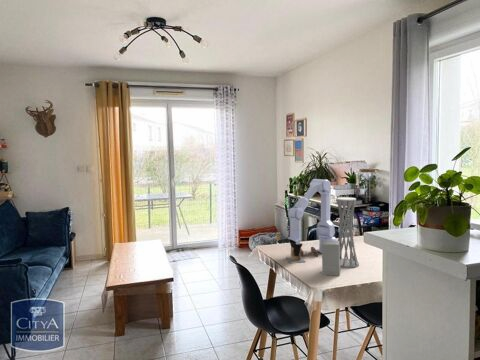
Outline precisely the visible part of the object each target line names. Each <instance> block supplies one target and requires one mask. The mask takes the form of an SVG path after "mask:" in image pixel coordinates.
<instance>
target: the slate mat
mask: <svg viewBox="0 0 480 360" xmlns="http://www.w3.org/2000/svg"><path fill="white" fill-rule="evenodd" d="M285 259H286V260H287V262H288V263H290V264H292V263H291V262H296V263H306V261H305V259H304V257H301V256H300V260H295V261H292V259H291V256H286V257H285Z"/></svg>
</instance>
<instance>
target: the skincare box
mask: <svg viewBox="0 0 480 360" xmlns="http://www.w3.org/2000/svg"><path fill="white" fill-rule="evenodd" d="M321 263H322V264H321V265H322V268H321V269H322V275H324V276H337V277H338V276H340V274H341V267H340V243H339V241H338V240H336V241H323V242H322V253H321Z"/></svg>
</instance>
